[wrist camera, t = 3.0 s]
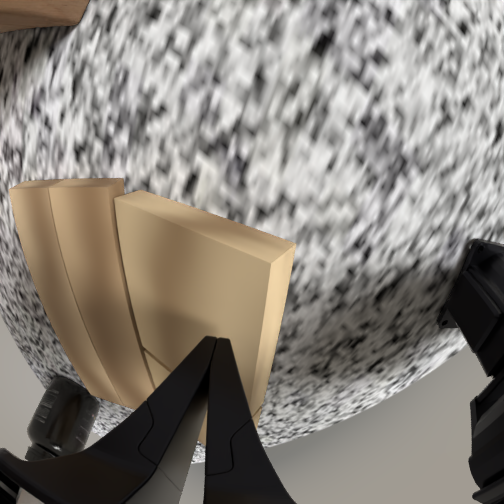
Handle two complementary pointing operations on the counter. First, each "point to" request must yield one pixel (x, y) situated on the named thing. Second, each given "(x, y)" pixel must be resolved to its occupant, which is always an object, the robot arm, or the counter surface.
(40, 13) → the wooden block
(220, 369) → the robot arm
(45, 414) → the supplement bottle
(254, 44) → the counter surface
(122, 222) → the oak plank
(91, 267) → the laid floor row
